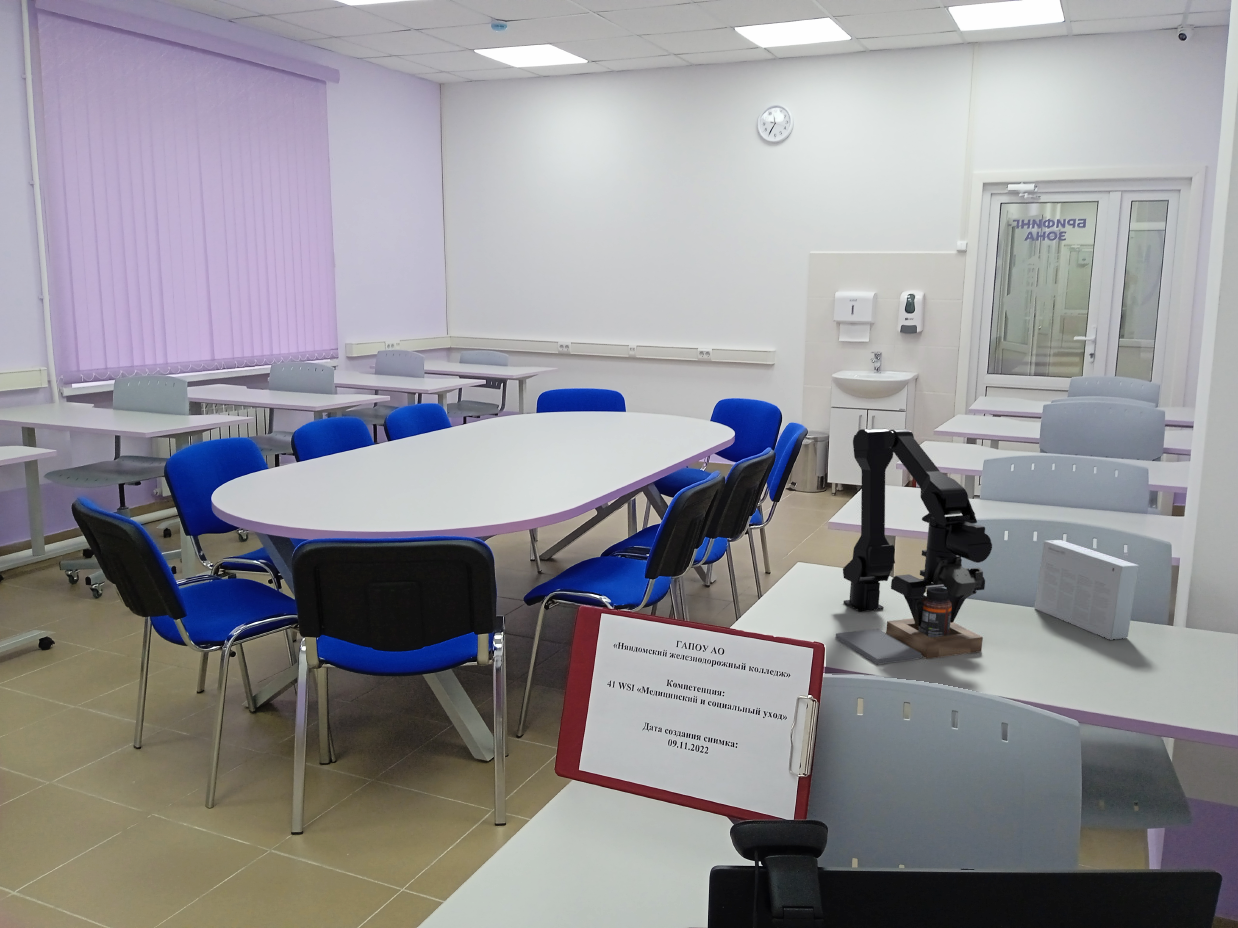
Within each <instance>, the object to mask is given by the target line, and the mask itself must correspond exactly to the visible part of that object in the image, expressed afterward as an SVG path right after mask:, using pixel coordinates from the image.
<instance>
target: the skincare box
mask: <svg viewBox="0 0 1238 928" xmlns="http://www.w3.org/2000/svg"><path fill="white" fill-rule="evenodd" d="M1042 543H1043V545H1042V553H1041V561H1040V566H1039V571H1038V580H1037V589H1036V590H1037V591H1036V594H1035V600H1034V601H1035V603H1034V609H1035V610H1037V611H1040V612H1041V613H1044V614H1047V615H1049V616H1052V617H1054V618H1055V619H1058V618H1059V619H1058V620H1061V621H1063V620H1064V621H1063V622H1066V623H1068V622H1069V623H1068V624H1070V623H1071V625H1073V626H1075V625H1076V627H1077V628H1078V627H1079V628H1080V629H1083V630H1085V631H1088V632H1090V633H1092V634H1094V635H1097V634H1098V635H1097V636H1099V635H1100V637H1102V638H1104V637H1105V638H1104V639H1107V640H1109V639H1110V640H1109V641H1113V639H1115V640H1120V639H1122V638H1123V639H1127V638H1126V637H1129V631H1130V624H1131V618H1132V611H1133V606H1134V600H1135V599H1134V597H1135V593H1136V587H1137V579H1138V573H1139V567H1140V565H1139V564H1136V563H1133V562H1129V561H1127V560H1123V559H1120V558H1117V557H1115V556H1111V555H1108V554H1105V553H1102V552H1099V551H1096V550H1092V549H1089V548H1086V547H1083V546H1080V545H1078V544H1074V543H1071V542H1068V541H1065V540H1061V539H1056V540H1055V539H1053V540H1052V539H1051V540H1050V539H1049V540H1043V542H1042Z"/></svg>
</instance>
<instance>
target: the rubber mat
mask: <svg viewBox="0 0 1238 928" xmlns="http://www.w3.org/2000/svg"><path fill="white" fill-rule="evenodd" d="M835 639H836V640H838V641H839V642H841V643H843V644H844V645H845V646H847V647H849V648H850V649H853V650H854V651H856V653H858V654H860V655H862V656H864V657H865V658H866V659H868V660H870V661H871V662H873V663H875V664H876V665H882V664H883V665H884V664H890V663H896V662H897V663H898V662H905V661H910V660H918V659H922V656H921V653H920V652H918V651H916V650H914V649H913V648H911V647H909V646H907V645H906V644H904V643H902V642H900V641H899V640H897V639H895V638H893V637H892V636H890V635H888V634H886V631H885V632H884V631H883V630H881V629H880V628H870V629H862V630H861V629H860V630H854V631H846V632H845V631H844V632H838V633H837V632H836V633H835Z"/></svg>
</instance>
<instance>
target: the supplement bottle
mask: <svg viewBox="0 0 1238 928" xmlns="http://www.w3.org/2000/svg"><path fill="white" fill-rule="evenodd" d="M925 595H926V596H927V597H929V598H928V599H927V600H926V601H925V602H924V606H923V615H922V622H921V626H919V629H918V631H919V632H921V633H923V634H925V635H927V636H929V637H931V638H932V637H940V636H948V635H949V632H950V621H951V610H952V604H951V602H950V601H949V600H948V599H947V596H948V590H947V589H946V587H936V588H927V589H926V592H925Z"/></svg>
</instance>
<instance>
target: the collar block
mask: <svg viewBox="0 0 1238 928" xmlns="http://www.w3.org/2000/svg"><path fill="white" fill-rule="evenodd" d="M885 628H886V629H885V630H886V631H885V633H886V634H888V635H890V636H892V637H893V638H895V639H897V640H899V641H900V642H902V643H904V644H906V645H907V646H909V647H911V648H913V649H914V650H916V651H918V652H920V653H921V657H923V658H925V659H928V660H929V659H936V658H944V657H951V656H957V655H958V656H959V655H966V654H973V653H974V654H975V653H980V652H982V649H983V648H982V647H983V641H984V640H983V639H984V637H983V636H981V635H980V634H977V633H976V632H973V631H972V630H970V629H967V628H966V627H963V626H962V625H959V624H957V623H956V622H955V621H954V622H953V623H951V622H950V632H949V635H948V636H940V637H932V638H931V637H929V636H927V635H925V634H923V633H921V632H919V631H918V629H919V626H917V625H916V624H915V622H914V619H913V617H911V618H903V619H896V620H895V619H894V620H886V627H885Z"/></svg>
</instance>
